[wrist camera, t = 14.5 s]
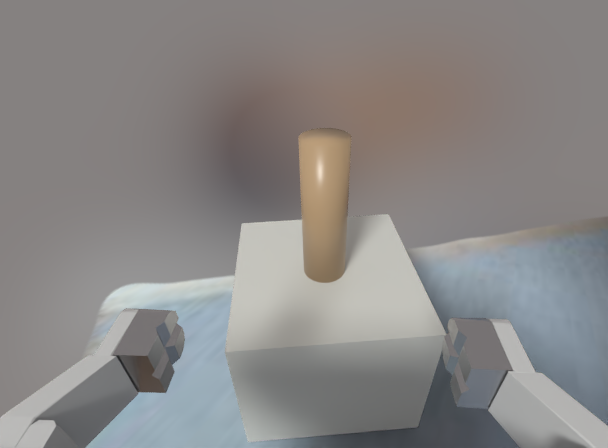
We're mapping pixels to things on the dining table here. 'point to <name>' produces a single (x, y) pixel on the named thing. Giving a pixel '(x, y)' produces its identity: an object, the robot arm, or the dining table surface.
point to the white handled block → (328, 314)
